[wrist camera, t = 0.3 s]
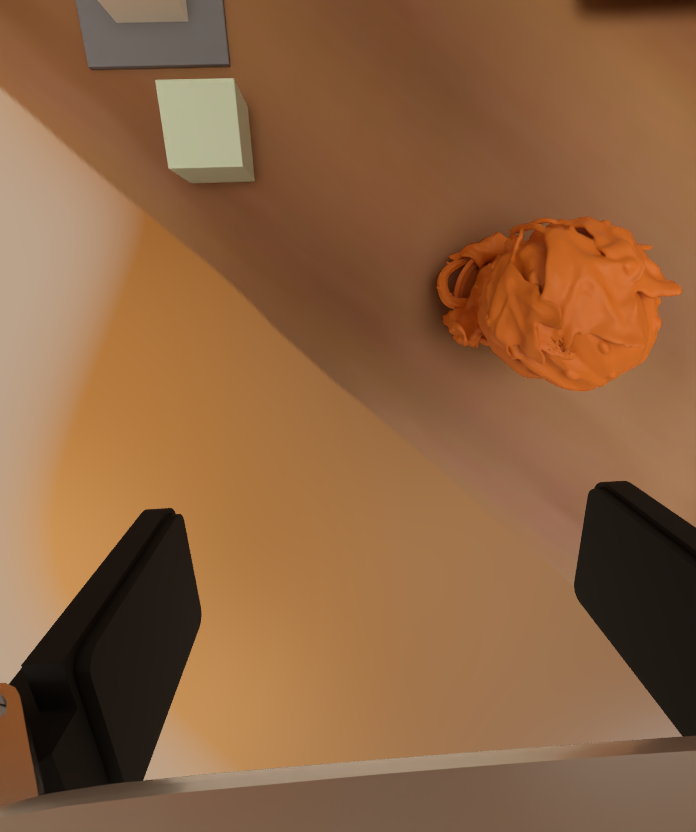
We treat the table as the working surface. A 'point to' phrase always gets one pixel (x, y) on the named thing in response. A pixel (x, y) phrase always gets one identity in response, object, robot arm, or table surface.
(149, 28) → the mat
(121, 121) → the table surface
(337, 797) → the robot arm
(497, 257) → the orange sculpted figure
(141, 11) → the beige cube
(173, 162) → the pale green cube
